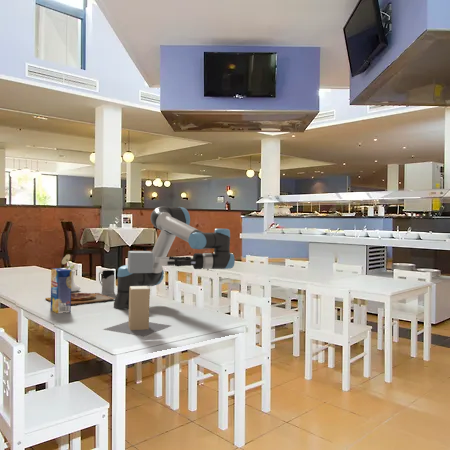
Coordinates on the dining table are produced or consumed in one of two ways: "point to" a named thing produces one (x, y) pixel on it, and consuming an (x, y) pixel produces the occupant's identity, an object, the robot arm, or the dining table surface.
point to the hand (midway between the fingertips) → (157, 261)
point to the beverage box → (61, 290)
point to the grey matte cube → (140, 262)
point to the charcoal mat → (125, 329)
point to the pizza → (87, 298)
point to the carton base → (139, 307)
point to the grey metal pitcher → (107, 282)
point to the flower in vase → (73, 285)
